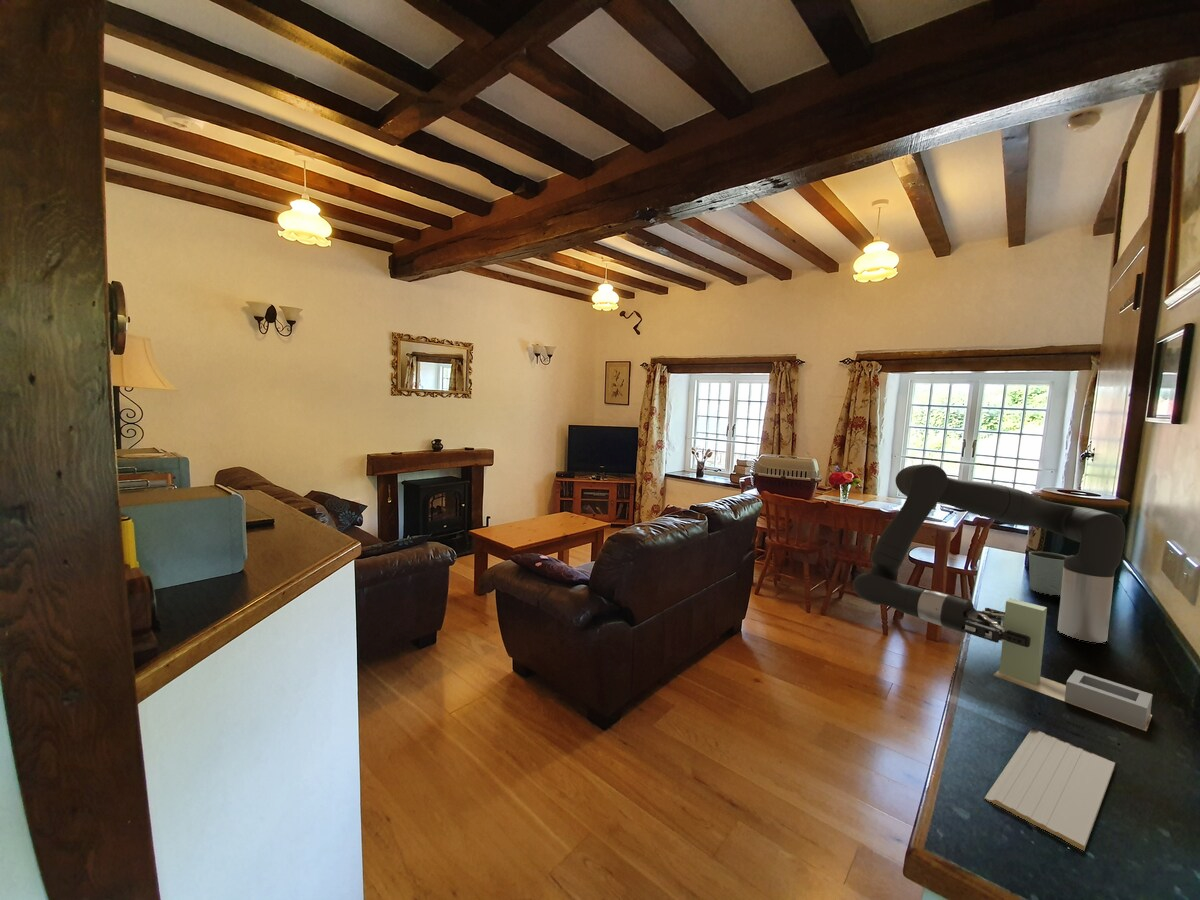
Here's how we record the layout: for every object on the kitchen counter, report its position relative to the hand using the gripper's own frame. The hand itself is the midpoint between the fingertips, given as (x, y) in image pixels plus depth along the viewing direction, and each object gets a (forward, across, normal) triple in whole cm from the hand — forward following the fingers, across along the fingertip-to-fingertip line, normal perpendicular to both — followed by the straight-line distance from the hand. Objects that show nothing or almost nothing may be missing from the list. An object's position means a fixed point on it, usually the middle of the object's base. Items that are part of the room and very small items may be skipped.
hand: (1035, 637), depth 101 cm
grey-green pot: (-13, +78, +11) cm, 80 cm away
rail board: (+6, 0, +11) cm, 12 cm away
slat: (-2, 0, +10) cm, 10 cm away
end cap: (+11, 0, +10) cm, 15 cm away
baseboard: (+9, -30, +11) cm, 33 cm away
